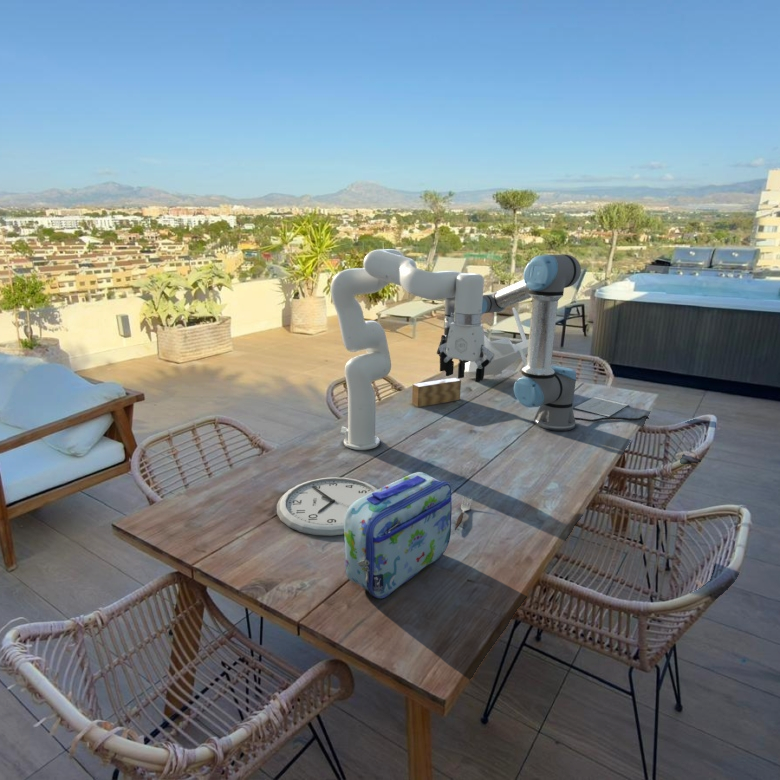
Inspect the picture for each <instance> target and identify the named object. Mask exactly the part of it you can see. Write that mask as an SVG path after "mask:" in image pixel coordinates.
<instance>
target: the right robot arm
mask: <svg viewBox="0 0 780 780" xmlns="http://www.w3.org/2000/svg"><path fill="white" fill-rule="evenodd" d="M581 275H582V266H581V264H580V262H579V260H578V259H577V258H576V257H574V255H573V256H572V255H571V254H563V253H562V254H542V255H536V256H534V257H533V258H532V259H530V261H528V263H527V264H526V266H525V268H524V269H523V280H520V281H517V282H516V283H513V284H511V285H509V286H507V287H504V288H502V289H500V290H497V291H495V292H493V293H490V294H483V302H482V316H483V315H484V314H490V313H499V312H503V311H505V310H506V308H508V307H511V306H513V305H516V304H519V303H521V302H525V301H526V300H529V299H532V303H531V313H530V325H529V335H528V336H529V337H528V339H529V345H528V354H527V355H526V358H527V365H526V366H525V367H524V366H523V367H522V368H521V376H520V377H518V379H516V381H514V384H513V393H514V396H515V398H516V399H517V401H518V403H520V404H521V405H522V406H524V407H526V408H538V410H537V411H536V413H535V416H534V424H535V425H536V426H537V427H539V428H542V429H544V430H549V431H556V432H567V431H572V430H574V429H575V428H576V421H584V422H591V423H594V422H598V421H603V420H625V421H641V420H642V419H647V420H650V417H649V416H648V415H642V416H640V417H633V418H632V417H625V416H624V417H623V416H621V417H620V416H609V417H608V416H604V417H599V418H595V419H589V418H584V417H576V416H575V413H574V407H573V405H574V398H575V391H576V383H577V372H576V371H575V369H573V368H571V367H570V368H569V367H566V366H561V365H552V361H553V351H554V342H555V333H556V326H557V325H556V323H557V314H558V305H559V300H560V299H562V298H563V296H564V294H565V293H564V292H565V289H566V288H570V287H572V286H574V285H576V283H577V282H578V281H579V279H580V277H581ZM454 311H455V297H453V298H445V299H444V327H443V328H444V329H443V332H444V333H443V334H441V337H440V342H439V343H438V344H439V345H438V348H437V350H436V355H438V356H439V372H445V367H446V362H444V359H443V357H442V356H441V352H440V350H439V346H440V345H442V344H445V343H447V339H448V333H449V329H450V325H451V323H453V322H454V318H451V316H450V315H451V313H454ZM446 348H447V347H446ZM446 348H445V350H446ZM467 362H469V361H465V360H459V359H458V363H457V379H464V378H465V374H464V371H465V363H467Z"/></svg>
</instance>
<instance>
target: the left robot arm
mask: <svg viewBox="0 0 780 780" xmlns="http://www.w3.org/2000/svg"><path fill="white" fill-rule="evenodd" d="M362 265H363V267H360V268H359V267H357V268H347V269H343V270H341V271H339V272H337V273H336V274H335V275H334V277H333V278H332V279H331V283H330V296H331V300H332V303H333V306H334V308H335V312H336V315H337V320H338V325H339V330H340V334H341V339H342V343H343V346H344V348H345V349H346V350H347V351H348V352H350V353H357V352H362V351H366V353H363V354H359V355H356V356H354V357H352V358H350V359H349V360H348V361H347V362H346V364H345V366H344V376H345V381H346V386H347V424H348V425H347V427H346V426H341V428H340V431H339V434H340V435H343V436H345V438H344V439H343V445H344V447H347V449H351V450H355V451H367V450H372V449H376V448H377V447H378V446H380V442H381V440H380V438H379V437H378V436H376V413H377V411H376V409H377V407H376V405H377V403H376V401H377V400H376V399H377V398H376V397H377V395H376V391H375V388H374V387H373V384H372V382H374V381H377V380H380V379H383V378H385V377H387V376H388V375H389V374H390V373H391V370H392V360H391V354H390V349H389V343H388V340H387V335H386V332H385V329H384V327H383V326H382V325H381V324H380V323H379V322H378V321H375V320H365V316H364V311H363V309H362V306H361V304H360V302H359V301H358V300H357V299H356V298H355V297H356V296H362V295H370V294H375V293H377V292H379V291H381V290H383V289H384V288H386V286H388V285H389V284H390V283H391V284H393V285H397V286H399V287H401V288H402V290H404V291H405V292H407V293H409V294H411V295H413V296H415V297H419V298H421V299H425V300H430V301H439V300H445V298H453V297H455V311H454V313H451V315H450V316H451V318H454V322H453V323H451V325H450V329H449V333H448V339H447V343H445V344H442V345H440V346H439V345H438V347H439V350H440V352H441V356H442V357H443V359H444V362H446V367H445V371H444V372H445V376H446V377H450V376H452V375H454V370H455V369H454V367H455V365H454V364H455V361H454V360H458V361H459V360H465V361H470V362H474V361H475V363H476V365H477V366H478V368H477V369H476V377H475V383H480V382H482V381H483V380H484V378H485V376H484V369H485V367H486V366H487V365H488V364H489V363H491V360H492V359H493V357H494V354H493V353H492V352H491V351H489V350H488V349H487V348H485V347H484V335H485V330H484V329H485V328H484V325H483V324H482V316H483V315H482V302H483V295H484V286H485V279H484V277H483V275H482V274H480V273H471V272H470V273H468V272H467V273H464V272H460V271H457V270H456V271H455V270H443V271H428V270H426V269H422V268H418V265H417V263H416V262H415V260H414V259H413V258H410V257H407V256H405V255H404V254H403V253H402V252H401V251H399V250H397V249H395V248H394V249H393V248H388V249H384V248H383V249H374V250H371V251H370V252H368V253H367V254H366V255H365V257H364V259H363V264H362ZM446 347H447V348H446ZM445 348H446V350H445ZM484 354H485V355H486V356H487V358H486V360H485V361H484V360H483V356H484Z"/></svg>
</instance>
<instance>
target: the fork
mask: <svg viewBox="0 0 780 780" xmlns="http://www.w3.org/2000/svg"><path fill="white" fill-rule="evenodd" d="M465 497H466V495H464V496H463V499H462V502H461V505H460V510H461V511H462V512H461V513H460V514H459V516H458V517H457V520H456V524H455V527H454V531H457V529H458V527H459V526H460V524H461V523H462V521H463V518H464V515H465V514H464V513H465V512H467V511H470V510H471V508H472V501H473V498H471V496H468V497H466V498H465ZM470 498H471V499H470ZM467 499H468V500H467Z"/></svg>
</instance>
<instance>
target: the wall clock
mask: <svg viewBox="0 0 780 780" xmlns="http://www.w3.org/2000/svg"><path fill="white" fill-rule="evenodd" d="M378 489H379V488H377V487H376V486H374V485H372V484H371V483H369V482H365V481H362V480H359V479H355V478H349V477H338V476H337V477H335V476H333V477H332V476H331V477H322V478H317V479H312V480H307V481H305V482H302V483H299V484H297V485H295V486H293V487H292V488H290V489H288V490H287V491H286V492H285V493H284V494H283V495H281V496H280V498H279V499H278V502H277V503H276V515H277V517H278V518H279V520H280V521H281V522H282V523H283V524H285V525H286V526H287V527H288V528H290V529H293V530H295V531H297V532H299V533H303V534H308V535H312V536H327V537H328V536H329V537H331V536H332V537H333V536H342V535H343V536H344V520H345V516H346V513H347V511H348V509H349V507H350V506H351V505H352V504H353V503H354V502H355V501H356V500H358V499H360V498H362V497H364V496H366V495H368V494H370V493H372V492H374V491H376V490H378Z"/></svg>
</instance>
